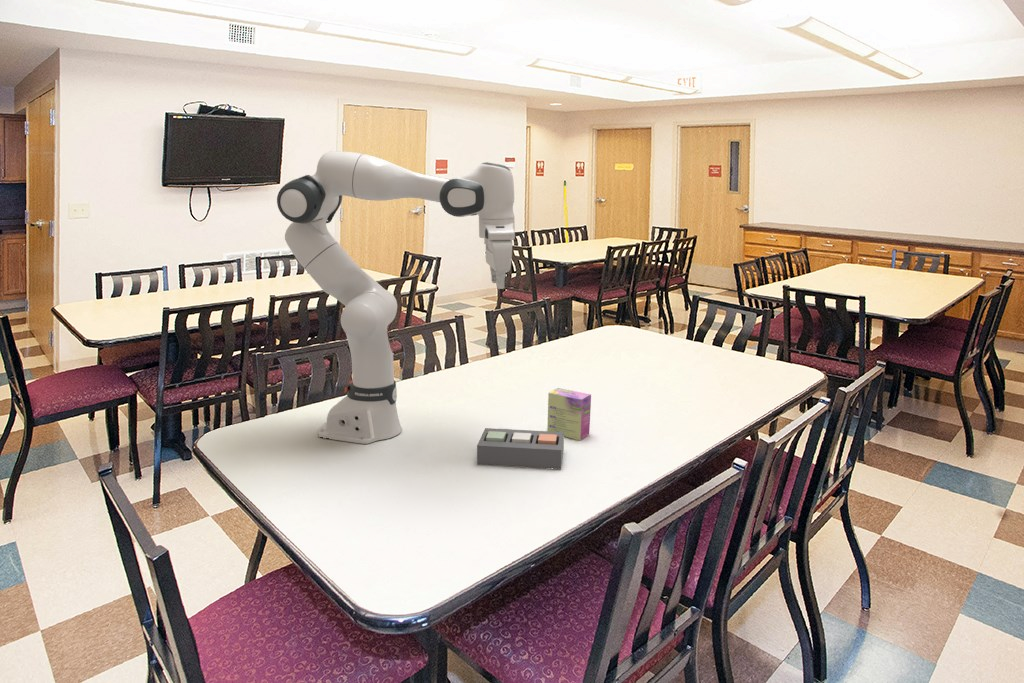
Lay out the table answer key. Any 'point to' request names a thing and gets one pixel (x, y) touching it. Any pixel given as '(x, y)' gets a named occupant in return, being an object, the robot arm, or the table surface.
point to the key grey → (521, 438)
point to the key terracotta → (547, 439)
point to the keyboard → (520, 451)
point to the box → (569, 413)
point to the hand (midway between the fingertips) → (497, 285)
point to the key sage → (496, 436)
